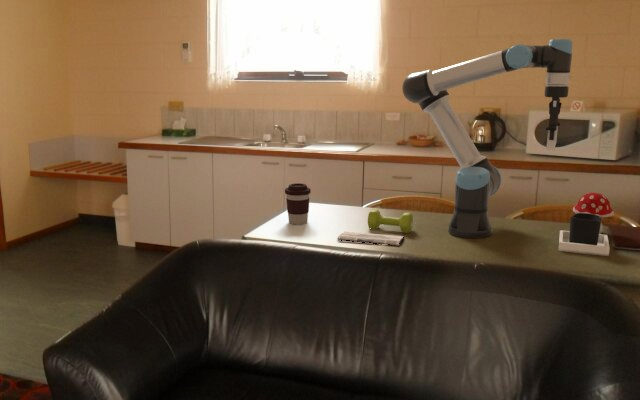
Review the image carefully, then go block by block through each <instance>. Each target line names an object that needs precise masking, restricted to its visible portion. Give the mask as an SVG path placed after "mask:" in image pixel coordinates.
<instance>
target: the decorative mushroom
mask: <svg viewBox="0 0 640 400" xmlns="http://www.w3.org/2000/svg"><path fill="white" fill-rule="evenodd" d="M572 211H573V212H574V213H575V214H577V213H588V214H594V215H597V216H600V217H601V218H608V217H612V216H614V215H615V211H614V209H612V206H611V202H610V200H609V199H608V197H606V196H605V195H604V194H601V193H599V192H588V193H585V194H583V195H582V196H581V197H580V198H579V199H578V201H577V203H576V204H575V205H574V206H573V208H572ZM603 232H604V225H603V223H602V221H601V225H600V231H599V234H602V233H603Z"/></svg>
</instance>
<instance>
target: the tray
mask: <svg viewBox="0 0 640 400" xmlns="http://www.w3.org/2000/svg"><path fill="white" fill-rule="evenodd" d="M569 234H570V230H563V229H562V230H559V237H558V252H564V253H565V252H567V253H574V254H583V255H594V256H599V257H600V256H601V257H610V249H611V248H610V244H609V243H610V242H609V237H608V234H602V233H601V234H599V238H598V243H597V245H589V244H579V243H570V242H569Z"/></svg>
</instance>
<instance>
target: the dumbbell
mask: <svg viewBox="0 0 640 400" xmlns="http://www.w3.org/2000/svg"><path fill="white" fill-rule="evenodd" d="M413 224H414V218H413V214H412V213H411V212H406V211H405V212H404V213H403V214H401V215H400V217H395V216H394V217H393V216H382V215H381V212H380V210H379V209H375V208H374V209H371V210H370V211H369V212H368V215H367V227H368V228H369V229H370V228H371V229H370V230H372V229H375V230H378V228H380V226H381V225H384V226H397V227H399V228H400V231H401V232H402V233H403V232H404V233H403V234H409V233H411V231H412V229H413Z"/></svg>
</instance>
